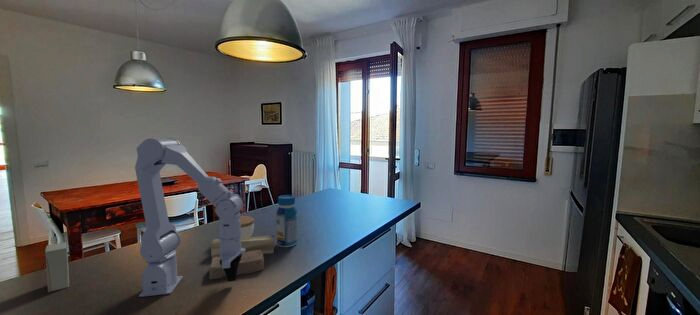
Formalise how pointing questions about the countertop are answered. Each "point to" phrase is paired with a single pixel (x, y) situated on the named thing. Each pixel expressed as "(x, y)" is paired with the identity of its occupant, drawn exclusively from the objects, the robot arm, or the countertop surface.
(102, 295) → the countertop surface
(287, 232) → the beverage bottle
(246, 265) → the brick
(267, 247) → the batten
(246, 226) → the white round tub
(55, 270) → the skincare box
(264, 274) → the countertop surface
